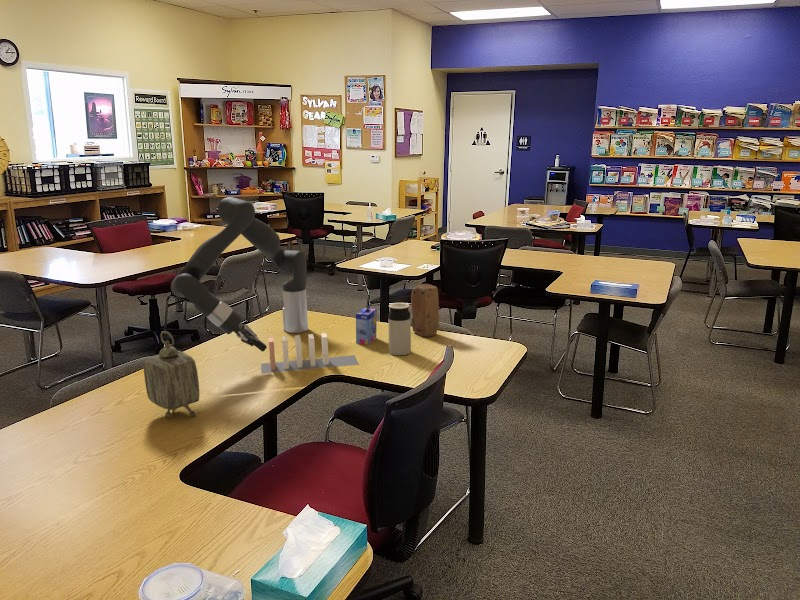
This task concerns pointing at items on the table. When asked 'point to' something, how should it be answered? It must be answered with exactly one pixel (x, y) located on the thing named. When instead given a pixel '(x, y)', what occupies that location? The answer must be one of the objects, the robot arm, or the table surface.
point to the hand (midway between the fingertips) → (265, 349)
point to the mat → (306, 365)
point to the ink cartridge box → (366, 325)
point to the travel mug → (399, 329)
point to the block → (425, 310)
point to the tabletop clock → (171, 378)
